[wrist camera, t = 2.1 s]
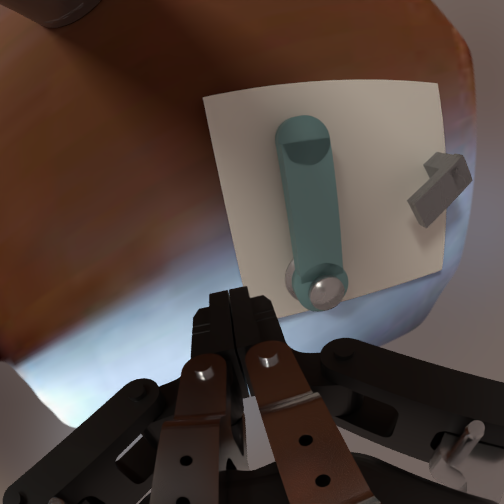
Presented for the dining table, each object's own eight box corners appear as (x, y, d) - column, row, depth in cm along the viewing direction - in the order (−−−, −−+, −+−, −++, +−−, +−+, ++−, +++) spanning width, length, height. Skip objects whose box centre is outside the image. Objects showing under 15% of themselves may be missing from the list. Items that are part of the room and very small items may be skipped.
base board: (203, 99, 23) (202, 97, 22) (428, 84, 24) (437, 83, 23) (250, 316, 32) (252, 324, 30) (435, 264, 33) (441, 269, 31)
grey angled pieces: (307, 311, 30) (320, 336, 27) (272, 275, 28) (282, 298, 24) (450, 183, 27) (476, 191, 23) (429, 138, 25) (457, 141, 21)
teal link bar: (341, 293, 29) (349, 303, 28) (294, 305, 29) (300, 317, 27) (322, 113, 23) (332, 112, 21) (264, 121, 22) (269, 119, 20)
